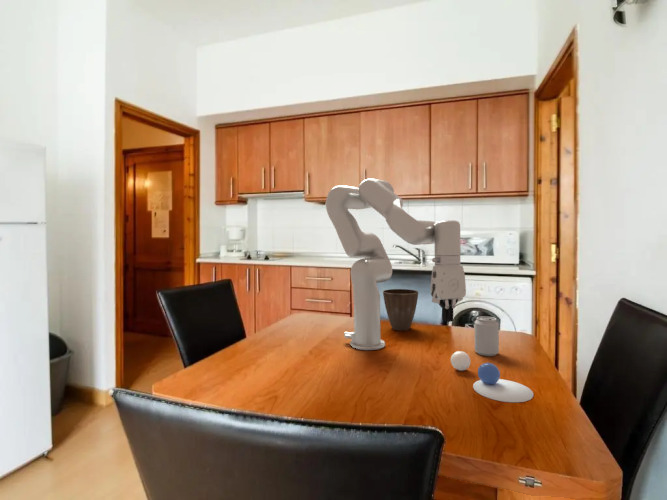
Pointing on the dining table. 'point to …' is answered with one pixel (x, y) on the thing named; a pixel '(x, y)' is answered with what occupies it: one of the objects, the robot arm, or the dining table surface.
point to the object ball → (488, 373)
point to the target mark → (504, 391)
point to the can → (486, 336)
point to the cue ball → (460, 360)
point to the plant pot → (400, 307)
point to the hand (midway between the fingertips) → (447, 320)
